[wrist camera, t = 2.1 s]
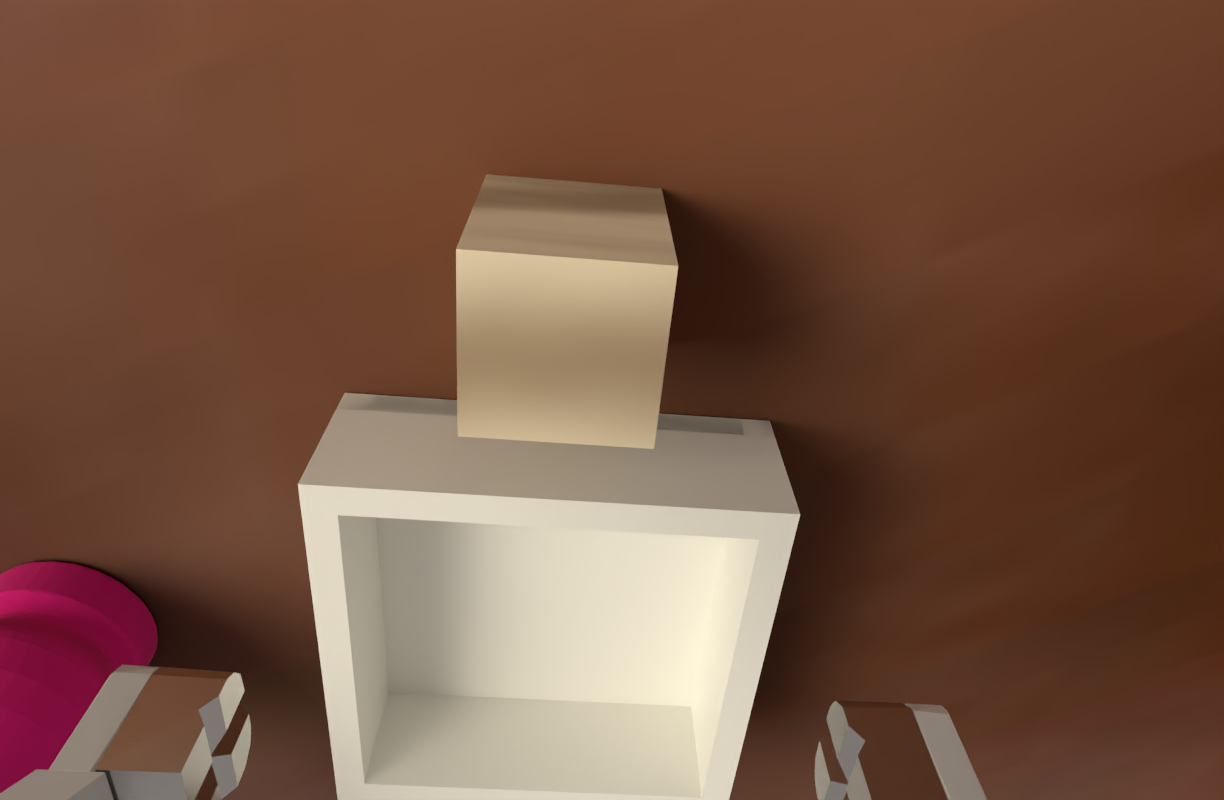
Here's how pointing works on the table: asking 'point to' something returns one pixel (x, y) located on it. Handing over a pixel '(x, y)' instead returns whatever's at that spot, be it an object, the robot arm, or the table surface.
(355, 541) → the serving bin
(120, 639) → the pepper mill
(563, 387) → the birch block
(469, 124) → the table surface
